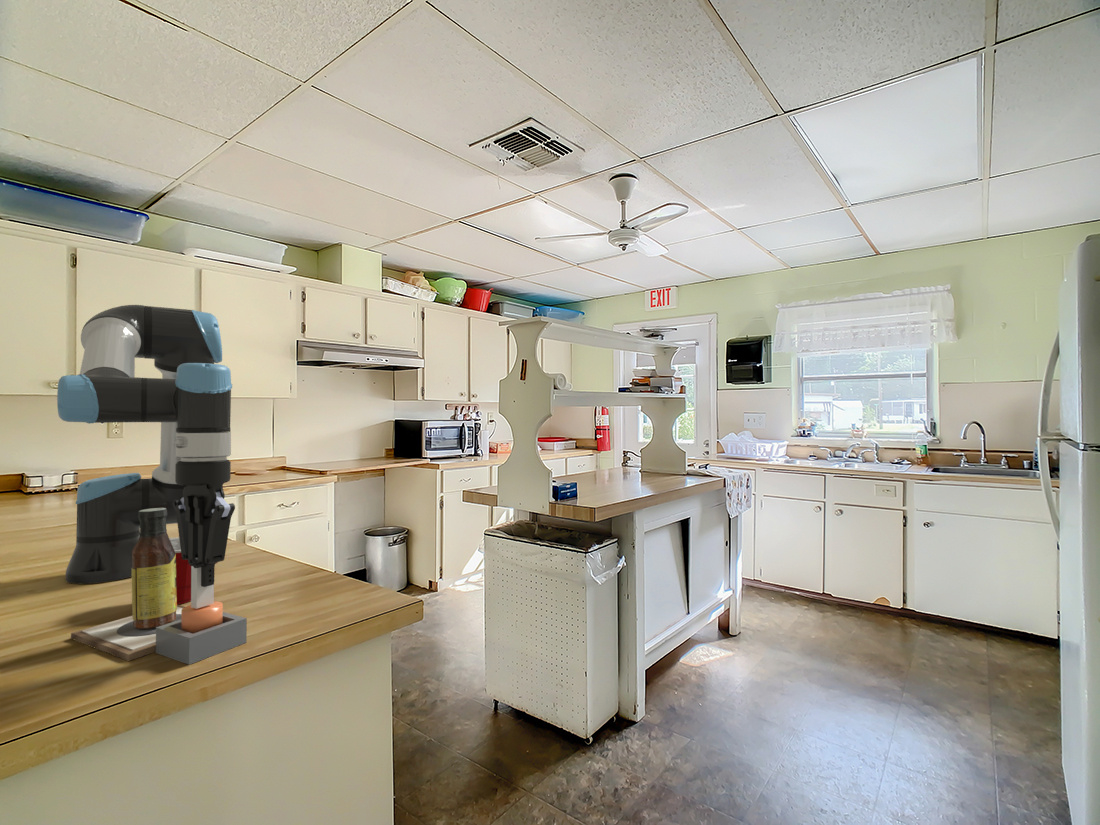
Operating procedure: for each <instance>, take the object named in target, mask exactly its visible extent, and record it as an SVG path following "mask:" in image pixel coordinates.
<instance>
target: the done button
mask: <svg viewBox="0 0 1100 825" xmlns="http://www.w3.org/2000/svg"><path fill="white" fill-rule="evenodd" d="M223 606H224V605H223V602H221V601H216V600H214V604H210V605H207V606H204V607H201V608H197V609H196V608H192V607H191V604H189V605H187V606H184V608H183V609H182V610H181V630H183V631H186V632H189V633H192V634H194V633H197V632H200V631H203V630H205V629H208V628H211V627H214V626H217V625H220V624H223V612H224V610H223V609H224V607H223Z"/></svg>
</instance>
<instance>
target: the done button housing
mask: <svg viewBox="0 0 1100 825" xmlns="http://www.w3.org/2000/svg"><path fill="white" fill-rule="evenodd" d="M247 620H248V619H247V617H244V616H240V615H237V614H232V613H229V612H225V611H223V624H220V625H217V626H214V627H211V628H208V629H205V630H203V631H200V632H197V633H194V634H192V633H189V632H186V631H183V630H181V620H178V621H175V622H172V623H168V624H165V625H162V626H159V627H156V652H155V654H158V655H161V656H163V657H165V658H166V657H167V658H169V659H172V660H175V661H178V662H180V663H184V664H185V665H192V664H194V663H197V662H200V661H203V660H205V659H208V658H210V657H213V656H215V655H218V654H221V653H224V652H226V651H228V650H231V649H234V648H236V647H238V646H242V645H244V644H246V643H247V641H248V640H247V630H248V629H247V628H248V627H247V622H248V621H247Z"/></svg>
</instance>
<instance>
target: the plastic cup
mask: <svg viewBox="0 0 1100 825" xmlns="http://www.w3.org/2000/svg"><path fill="white" fill-rule="evenodd" d="M169 539H170V541H171V544H172V546H173V548H174V550H175V553H176V592H177V605H182V604H186V603H189V602H191V565H189V563H188V560H187V559H186V560H183V559H182V555H181V547H180V539H179V536H177V537H169Z"/></svg>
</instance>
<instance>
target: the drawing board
mask: <svg viewBox="0 0 1100 825" xmlns="http://www.w3.org/2000/svg"><path fill="white" fill-rule="evenodd" d="M184 607H185V606H183V605H181V604H178V605H177V610H176V619H175V620H174V621H173V622H175V621H178V620H181V610H182V609H183V608H184ZM133 622H134V620H133V615H130V616H129V615H128V616H126V617H122V618H119V619H116V620H112V621H111V620H110V621H108V622H105V623H101V624H97V625H94V626H91V627H87V628H83V629H80V630H76V631H72V632H70V639H71V638H72V639H75V640H77V641H76V642H78V641H80V642H82V643H81V644H83V643H84V645H85V644H87V645H86V646H88V645H90V646H89V647H91V646H92V647H91V648H93V647H95V648H94V649H96V648H97V649H96V650H98V649H100V650H99V651H101V650H102V652H104V651H105V652H104V653H106V652H108V653H107V654H109V653H110V655H111V654H113V655H112V656H114V655H115V656H114V657H116V658H119V659H122V660H125V661H128V662H130V661H132V660H135V659H139V658H141V657H144V656H147V655H149V654H153V653H156V628H152V629H137V628H136V627H134V625H133ZM72 639H71V640H72ZM75 640H74V641H75ZM80 642H79V643H80Z"/></svg>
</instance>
